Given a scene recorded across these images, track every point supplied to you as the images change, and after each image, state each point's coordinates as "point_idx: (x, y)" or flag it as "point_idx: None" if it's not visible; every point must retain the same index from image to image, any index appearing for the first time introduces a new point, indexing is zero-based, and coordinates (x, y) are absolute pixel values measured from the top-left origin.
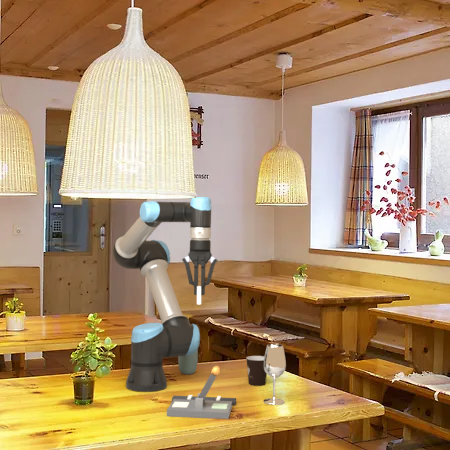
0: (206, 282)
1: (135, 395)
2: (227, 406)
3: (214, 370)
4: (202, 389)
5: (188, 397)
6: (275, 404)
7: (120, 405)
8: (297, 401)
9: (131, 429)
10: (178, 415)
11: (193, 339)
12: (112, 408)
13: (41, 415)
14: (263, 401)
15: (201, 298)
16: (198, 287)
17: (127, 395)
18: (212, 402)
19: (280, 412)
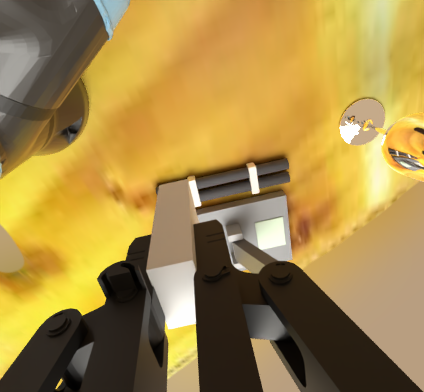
0: (276, 345)
1: (61, 181)
2: (283, 228)
3: None
4: (247, 267)
5: (194, 200)
6: (365, 143)
7: (81, 252)
8: (412, 97)
9: (169, 336)
10: None
11: (111, 25)
12: (80, 271)
13: (5, 336)
14: (340, 133)
15: (193, 215)
16: (183, 318)
17: (45, 187)
18: (251, 215)
19: (373, 188)
